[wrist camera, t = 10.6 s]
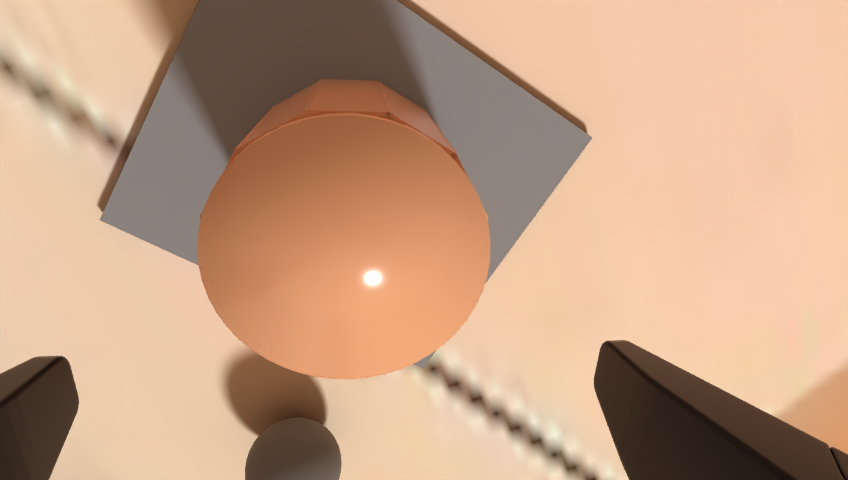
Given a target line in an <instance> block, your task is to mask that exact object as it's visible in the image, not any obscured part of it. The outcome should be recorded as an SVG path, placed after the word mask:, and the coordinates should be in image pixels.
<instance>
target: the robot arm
mask: <svg viewBox="0 0 848 480" xmlns="http://www.w3.org/2000/svg"><path fill="white" fill-rule="evenodd" d="M594 388H595V392H596V395H597V398H598V400H599V403H600V406H601V408H602V411H603V414H604V417H605V419H606V422H607V425H608V427H609V430H610V433H611V436H612V438H613V441H614V444H615V446H616V449H617V452H618V455H619V457H620V460H621V462H622V465H623V467H624V469H625V471H626V473H627V476H628V478H629V480H848V454H846V453H844V452H842V451H840V450H838V449H836V448H834V447H831V448H829V446H828V445H827V444H826V443H824V442H822V441H820V440H818V439H817V438H815V437H813V436H810V435H809V434H807V433H805V432H803V431H801V430H799V429H797V428H795V427H793V426H791V425H789V424H788V423H786V422H784V421H782V420H780V419H778V418H776V417H774V416H772V415H770V414H768V413H766V412H764V411H762V410H760V409H758V408H757V407H755V406H753V405H751V404H749V403H747V402H745V401H743V400H741V399H739V398H737V397H735V396H733V395H731V394H729V393H727V392H726V391H724V390H722V389H720V388H718V387H716V386H714V385H712V384H710V383H708V382H706V381H704V380H702V379H700V378H698V377H696V376H695V375H693V374H691V373H689V372H687V371H685V370H683V369H681V368H679V367H677V366H675V365H673V364H671V363H669V362H667V361H666V360H664V359H662V358H660V357H658V356H656V355H654V354H652V353H650V352H648V351H646V350H644V349H642V348H640V347H638V346H636V345H635V344H633V343H631V342H629V341H625V340H616V341H605V342H604V343H603V344H602V346H601V348H600V352H599V357H598V362H597V366H596V371H595V376H594ZM78 405H79V398H78V393H77V389H76V385H75V382H74V378H73V374H72V370H71V366H70V364H69V361H68V360H67V359H66V358H65V357H63V356H41V357H34V358H32V359H30V360H28V361H26V362H24V363H22V364H20V365H18V366H15V367H13V368H11V369H9V370H7V371H5V372H3V373H1V374H0V480H49V478H50V476H51V473H52V471H53V469H54V466H55V464H56V461H57V459H58V457H59V454H60V452H61V449H62V447H63V445H64V442H65V440H66V438H67V435H68V433H69V430H70V428H71V426H72V423H73V421H74V418H75V416H76V414H77V410H78Z"/></svg>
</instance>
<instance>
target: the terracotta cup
mask: <svg viewBox="0 0 848 480" xmlns="http://www.w3.org/2000/svg"><path fill="white" fill-rule="evenodd" d="M457 155H458V154H457V153H456V152H455V150H454V149H453V147H452V146H451V145H450V143H449V142H448V141H447V139H446V138H445V136H444V135H443V134H442V132H441V131H440V129H439V128H438V127H437V125H436V124H435V123H434V121H433V120H432V118H431V117H430V116H429V114H428V113H427V112H426V110H425V109H422V108H421V107H419V106H418V105H416V104H415V103H413V102H411V101H410V100H408V99H407V98H405V97H404V96H402V95H400V94H399V93H397V92H396V91H394V90H393V89H391V88H389V87H388V86H386V85H385V84H383V83H382V82H380V81H373V80H345V79H321V80H319V81H317V82H316V83H314V84H312V85H310V86H308V87H307V88H305V89H303V90H301V91H300V92H298V93H296V94H294V95H293V96H291V97H289V98H287V99H285V100H284V101H282V102H280V103H278V104H277V105H274V106H273V107H272V108H271V109H270V110H269V112H268V113H267V114H266V115H265V116H264V117H263V118H262V119H261V120H260V122H259V123H258V124H257V125H256V126H255V127H254V128H253V129H252V130H251V132H250V133H249V134H248V135H247V136H246V137H245V138H244V139H243V141H242V142H241V143H240V144H239V145H238V146H237V147H236V148H235V149H234V152H233V154H232V156H231V158H230V160H229V162H228V164H227V166H226V168H225V170H224V172H223V173H222V175H221V176H220V178H219V179H218V181H217V182H216V184H215V186H214V187H213V189H212V191H211V192H210V195H209V197H208V200H207V202H206V204H205V207H204V209H203V212H202V213H201V215H200V219H201V221H200V225H199V232H198V243H197V249H198V264H199V269H200V273H201V278H202V282H203V284H204V287H205V290H206V293H207V295H208V298H209V299H210V301H211V303H212V305H213V307H214V309H215V311H216V312H217V314H218V315H219V316H220V318H221V319H222V321H223V322H224V323H225V325H226V326H227V327H228V328H229V329H230V330H231V331H232V332H233V334H234V335H235V336H236V337H237V338H238V339H239V340H241V341H242V342H243V343H244V344H245V345H247V346H248V347H249V348H250V349H252V350H253V351H254V352H256V353H258V354H259V355H261V356H262V357H264V358H265V359H267V360H269V361H271V362H273V363H275V364H277V365H279V366H282V367H284V368H287V369H290V370H292V371H295V372H298V373H302V374H306V375H311V376H315V377H322V378H330V379H358V378H368V377H373V376H378V375H383V374H387V373H390V372H393V371H396V370H400V369H402V368H404V367H407V366H409V365H411V364H414V363H416V362H418V361H419V360H421V359H423V358H425V357H426V356H428V355H430V354H431V353H433V352H434V351H435V350H437V349H438V348H439V347H441V346H442V345H443V344H445V343H446V342H447V341H448V340H449V339H450V338H451V337H452V336H453V335H454V334H455V333H456V332H457V331H458V330H459V329H460V327H461V326H462V325H463V324H464V323H465V321H466V320H467V319H468V317H469V315H470V314H471V312H472V311H473V309H474V308H475V306H476V304H477V302H478V300H479V298H480V295H481V293H482V291H483V288H484V285H485V282H486V278H487V274H488V269H489V263H490V245H491V243H490V234H489V226H488V215H487V213H486V212H485V210H484V208H483V205H482V203H481V200H480V198H479V196H478V193H477V192H476V190H475V188H474V187H473V185H472V183H471V181H470V180H469V178H468V176H467V174H466V172H465V170H464V168H463V166H462V164H461V162H460V160H459V158H458V156H457Z"/></svg>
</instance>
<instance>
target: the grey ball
mask: <svg viewBox="0 0 848 480" xmlns="http://www.w3.org/2000/svg"><path fill="white" fill-rule="evenodd" d="M340 473H341V454H340V450H339V446H338V444H337V442H336V440H335V438H334V436H333V435H332V433H331V432H330V431H329V430H328V429H327V428H326V427H325V426H323V425H322V424H321V423H319V422H317V421H315V420H312V419H309V418H304V417H292V418H286V419H283V420H280V421H278V422H276V423H274V424H272V425H271V426H269V427H268V428H267V429H265V430H264V431H263V432H262V433H261V434H260V435H259V437H258V438H257V439H256V440H255V442H254V444H253V445H252V447H251V449H250V451H249V454H248V457H247V461H246V467H245V479H246V480H339V477H340Z"/></svg>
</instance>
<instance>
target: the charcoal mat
mask: <svg viewBox="0 0 848 480" xmlns="http://www.w3.org/2000/svg"><path fill="white" fill-rule="evenodd" d="M321 79H345V80H373V81H380V82H382V83H383V84H385V85H386V86H388V87H389V88H391V89H393V90H394V91H396V92H397V93H399V94H400V95H402V96H404V97H405V98H407V99H408V100H410V101H411V102H413V103H415V104H416V105H418V106H419V107H421V108H422V109H425V110H426V112H427V113H428V114H429V116H430V117H431V118H432V120H433V121H434V123H435V124H436V125H437V127H438V128H439V129H440V131H441V132H442V134H443V135H444V136H445V138H446V139H447V141H448V142H449V143H450V145H451V146H452V147H453V149H454V150H455V152H456V153H457V154H458V155H457V156H458V158H459V160H460V162H461V164H462V166H463V168H464V170H465V172H466V174H467V176H468V178H469V180H470V181H471V183H472V185H473V187H474V188H475V190H476V192H477V193H478V196H479V198H480V200H481V203H482V205H483V208H484V210H485V212H486V213H487V215H488V226H489V234H490V243H491V245H490V263H489V269H488V274H487V278H486V282H487V281H488V279H489V278H490V276H491V275H492V274H493V272H494V271H495V270H496V268H497V267H498V266H499V264H500V263H501V261H502V260H503V259H504V257H505V256H506V255H507V253H508V252H509V251H510V249H511V248H512V247H513V245H514V244H515V242H516V241H517V240H518V238H519V237H520V236H521V234H522V233H523V232H524V230H525V229H526V227H527V226H528V225H529V223H530V222H531V221H532V219H533V218H534V217H535V215H536V214H537V212H538V211H539V210H540V208H541V207H542V206H543V204H544V203H545V202H546V200H547V199H548V198H549V196H550V195H551V193H552V192H553V191H554V189H555V188H556V187H557V185H558V184H559V183H560V181H561V180H562V178H563V177H564V176H565V174H566V173H567V172H568V170H569V169H570V168H571V166H572V165H573V163H574V162H575V161H576V159H577V158H578V157H579V155H580V154H581V153H582V151H583V150H584V149H585V147H586V146H587V144H588V143H589V142H590V140H591V139H592V137H591V136H590V135H588V134H587V133H585V132H584V131H582V130H581V129H580V128H578V127H577V126H575V125H574V124H572V123H571V122H570V121H568V120H567V119H565V118H564V117H562V116H561V115H560V114H558V113H557V112H555V111H554V110H552V109H551V108H550V107H548V106H547V105H545V104H544V103H543V102H541V101H540V100H538V99H537V98H535V97H534V96H533V95H531V94H530V93H528V92H527V91H525V90H524V89H523V88H521V87H520V86H518V85H517V84H515V83H514V82H513V81H511V80H510V79H508V78H507V77H505V76H504V75H503V74H501V73H500V72H498V71H497V70H495V69H494V68H493V67H491V66H490V65H488V64H487V63H486V62H484V61H483V60H481V59H480V58H478V57H477V56H476V55H474V54H473V53H471V52H470V51H468V50H467V49H466V48H464V47H463V46H461V45H460V44H458V43H457V42H456V41H454V40H453V39H451V38H450V37H448V36H447V35H446V34H444V33H443V32H441V31H440V30H438V29H437V28H436V27H434V26H433V25H431V24H430V23H429V22H427V21H426V20H424V19H423V18H421V17H420V16H419V15H417V14H416V13H414V12H413V11H411V10H410V9H409V8H407V7H406V6H404V5H403V4H401V3H400V2H399V1H397V0H199V2H198V4H197V7H196V9H195V11H194V13H193V15H192V18H191V20H190V22H189V24H188V26H187V29H186V31H185V33H184V35H183V37H182V40H181V42H180V44H179V46H178V48H177V51H176V53H175V55H174V57H173V59H172V62H171V64H170V66H169V68H168V70H167V73H166V75H165V77H164V79H163V81H162V84H161V86H160V88H159V90H158V93H157V95H156V97H155V99H154V101H153V104H152V106H151V108H150V110H149V112H148V115H147V117H146V119H145V121H144V123H143V126H142V128H141V130H140V132H139V134H138V137H137V139H136V141H135V143H134V145H133V148H132V150H131V152H130V154H129V156H128V159H127V161H126V163H125V165H124V167H123V170H122V172H121V174H120V176H119V178H118V181H117V183H116V185H115V187H114V189H113V192H112V194H111V196H110V198H109V200H108V203H107V205H106V207H105V209H104V211H103V214H102V216H101V218H100V220H101V221H103V222H105V223H107V224H109V225H112V226H114V227H116V228H118V229H120V230H123V231H125V232H127V233H129V234H131V235H133V236H136V237H138V238H140V239H142V240H144V241H147V242H149V243H151V244H153V245H155V246H158V247H160V248H162V249H164V250H166V251H168V252H171V253H173V254H175V255H177V256H179V257H182V258H184V259H186V260H188V261H190V262H193V263H195V264H197V265H199V264H198V249H197V243H198V232H199V225H200V221H201V219H200V215H201V213H202V212H203V209H204V207H205V204H206V202H207V200H208V197H209V195H210V192H211V191H212V189H213V187H214V186H215V184H216V182H217V181H218V179H219V178H220V176H221V175H222V173H223V172H224V170H225V168H226V166H227V164H228V162H229V160H230V158H231V156H232V154H233V152H234V149H235V148H236V147H237V146H238V145H239V144H240V143H241V142H242V141H243V139H244V138H245V137H246V136H247V135H248V134H249V133H250V132H251V130H252V129H253V128H254V127H255V126H256V125H257V124H258V123H259V122H260V120H261V119H262V118H263V117H264V116H265V115H266V114H267V113H268V112H269V110H270V109H271V108H272V107H273V106H274V105H277V104H278V103H280V102H282V101H284V100H285V99H287V98H289V97H291V96H293V95H294V94H296V93H298V92H300V91H301V90H303V89H305V88H307V87H308V86H310V85H312V84H314V83H316V82H317V81H319V80H321ZM486 282H485V283H486ZM435 351H436V350H435ZM435 351H434V352H433V353H431V354H430V355H428V356H426V357H425V358H423V359H421V360H419V361H418V362H416V363H414V364H416V365H418V366H420V367H422V368H424V366H425V365H426V364H427V362H428V361H429V359H430V358H431V357H432V355H433V354H434V353H435Z"/></svg>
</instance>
